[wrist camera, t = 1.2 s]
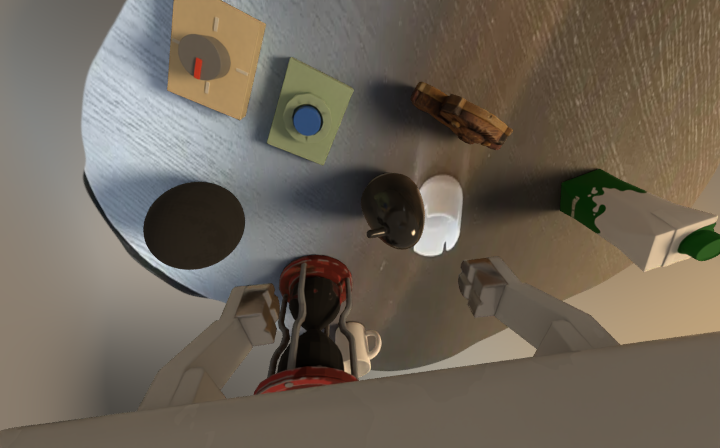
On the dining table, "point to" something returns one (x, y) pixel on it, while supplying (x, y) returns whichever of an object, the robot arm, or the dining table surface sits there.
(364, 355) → the mug
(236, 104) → the dial panel
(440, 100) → the wooden carving
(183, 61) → the dial
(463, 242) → the dining table surface
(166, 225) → the decorative egg
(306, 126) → the button
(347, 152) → the dining table surface
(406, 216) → the pump dispenser
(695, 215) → the milk carton
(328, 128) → the button housing
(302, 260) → the hourglass
